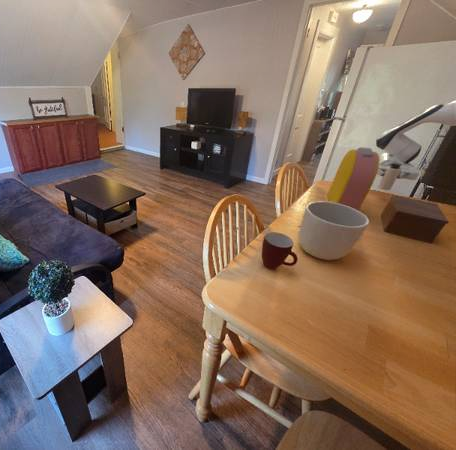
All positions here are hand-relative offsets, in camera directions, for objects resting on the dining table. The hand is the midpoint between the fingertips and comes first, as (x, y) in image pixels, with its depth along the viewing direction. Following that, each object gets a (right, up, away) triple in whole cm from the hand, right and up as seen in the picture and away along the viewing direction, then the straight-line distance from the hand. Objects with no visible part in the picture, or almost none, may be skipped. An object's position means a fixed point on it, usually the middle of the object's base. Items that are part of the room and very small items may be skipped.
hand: (391, 175), depth 113 cm
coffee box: (-9, -24, -15) cm, 30 cm away
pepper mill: (+1, -5, +4) cm, 7 cm away
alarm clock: (-22, -13, +3) cm, 26 cm away
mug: (-71, -36, -35) cm, 87 cm away
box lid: (-9, -17, -20) cm, 28 cm away
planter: (-52, -32, -28) cm, 67 cm away
